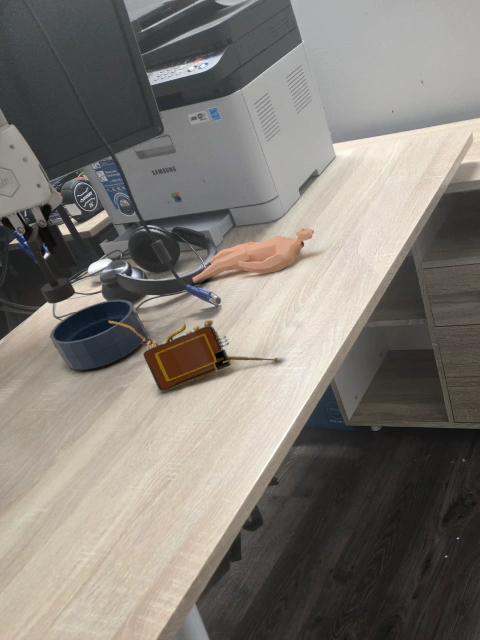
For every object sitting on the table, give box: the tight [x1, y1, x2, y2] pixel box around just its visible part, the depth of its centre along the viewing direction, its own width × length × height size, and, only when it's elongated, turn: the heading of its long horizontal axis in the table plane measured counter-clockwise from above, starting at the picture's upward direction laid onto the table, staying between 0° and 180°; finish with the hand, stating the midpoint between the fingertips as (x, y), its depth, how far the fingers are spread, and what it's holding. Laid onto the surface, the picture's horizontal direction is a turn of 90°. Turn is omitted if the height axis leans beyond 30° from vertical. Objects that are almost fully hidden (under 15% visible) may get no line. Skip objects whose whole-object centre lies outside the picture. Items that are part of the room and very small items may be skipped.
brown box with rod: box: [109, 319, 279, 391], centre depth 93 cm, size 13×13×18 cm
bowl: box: [49, 299, 147, 371], centre depth 110 cm, size 14×14×6 cm
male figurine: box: [192, 227, 315, 284], centre depth 124 cm, size 11×5×25 cm
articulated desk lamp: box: [26, 220, 78, 305], centre depth 102 cm, size 16×4×9 cm, turn 17°
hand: (48, 252), depth 102 cm, fingers closed on articulated desk lamp, 1 cm apart
